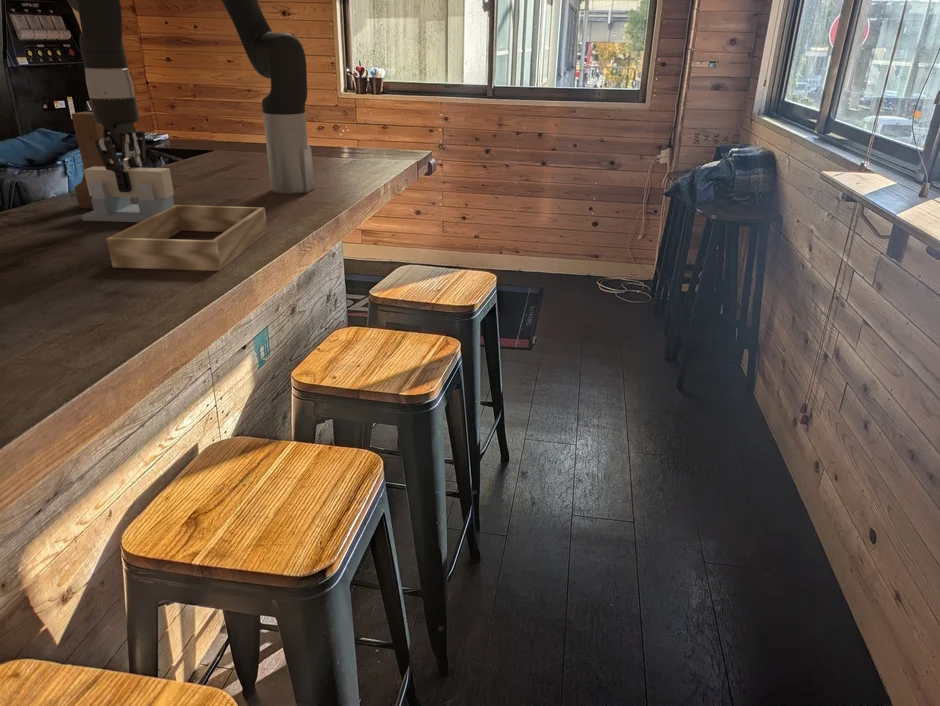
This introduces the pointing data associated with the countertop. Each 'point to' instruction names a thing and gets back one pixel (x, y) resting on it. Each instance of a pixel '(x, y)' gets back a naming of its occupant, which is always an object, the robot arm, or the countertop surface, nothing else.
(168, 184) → the clay strip
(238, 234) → the tray frame
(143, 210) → the rack
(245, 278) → the countertop surface
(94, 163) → the wooden block
